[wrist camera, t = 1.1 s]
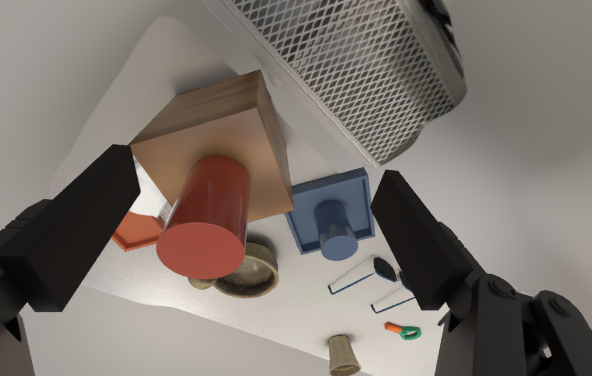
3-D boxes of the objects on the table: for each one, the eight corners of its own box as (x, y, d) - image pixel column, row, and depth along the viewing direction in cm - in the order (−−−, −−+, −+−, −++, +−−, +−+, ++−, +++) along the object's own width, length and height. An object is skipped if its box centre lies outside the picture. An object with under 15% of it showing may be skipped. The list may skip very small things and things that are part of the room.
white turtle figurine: (174, 190, 47) (210, 151, 37) (150, 231, 42) (185, 199, 32) (125, 164, 43) (151, 113, 33) (92, 206, 38) (112, 160, 28)
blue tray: (278, 190, 45) (278, 198, 43) (363, 166, 44) (368, 174, 42) (299, 245, 54) (301, 255, 52) (371, 227, 53) (375, 236, 51)
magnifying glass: (423, 329, 83) (426, 335, 81) (409, 337, 85) (411, 343, 84) (393, 318, 76) (395, 324, 75) (378, 327, 79) (380, 333, 78)
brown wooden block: (175, 95, 35) (126, 146, 22) (260, 69, 34) (257, 106, 22) (214, 168, 42) (193, 237, 29) (286, 148, 41) (294, 210, 28)
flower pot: (333, 330, 77) (340, 362, 70) (358, 334, 80) (367, 365, 73) (318, 344, 82) (322, 376, 75) (342, 347, 85) (349, 378, 78)
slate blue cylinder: (309, 204, 47) (317, 241, 40) (342, 195, 47) (355, 231, 39) (316, 226, 51) (325, 264, 43) (346, 219, 50) (360, 255, 43)
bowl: (257, 282, 60) (255, 325, 52) (184, 256, 53) (169, 302, 45) (292, 247, 54) (297, 290, 46) (216, 213, 47) (205, 257, 39)
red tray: (94, 210, 44) (89, 217, 43) (144, 196, 43) (140, 203, 42) (129, 244, 50) (125, 251, 48) (173, 233, 49) (170, 239, 47)
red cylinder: (176, 165, 24) (136, 236, 17) (237, 147, 23) (223, 212, 16) (205, 211, 27) (184, 286, 20) (259, 196, 27) (256, 268, 20)
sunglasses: (415, 278, 65) (423, 297, 61) (369, 298, 72) (373, 317, 69) (372, 252, 58) (378, 273, 54) (326, 278, 65) (328, 298, 61)
